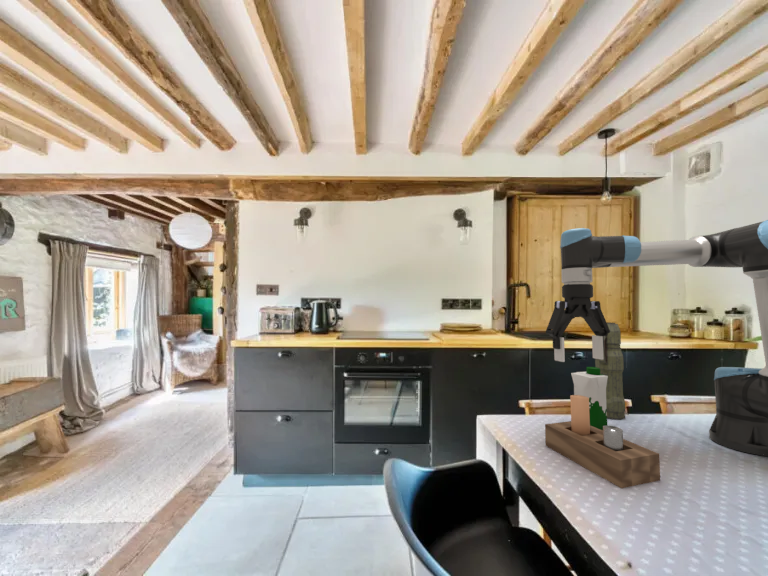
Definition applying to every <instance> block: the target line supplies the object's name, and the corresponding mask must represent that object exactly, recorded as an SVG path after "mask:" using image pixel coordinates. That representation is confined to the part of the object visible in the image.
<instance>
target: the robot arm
mask: <svg viewBox="0 0 768 576" xmlns="http://www.w3.org/2000/svg"><path fill="white" fill-rule="evenodd" d="M560 235H561V236H560V246H559V248H560V260H561V261H560V262H561V271H560V272H561V283H562V286H561V297H562V298H563V299H564V300H555V301H554V307H553V311H552V314H551V316H550V319H549V321H548V325H547V327H546V330H545V334H546V335H549V337H552V348H553V351H554V353H553V355H554V356H553V357H554V358H553V359H554V361H555V362H560V363H565V361H566V360H565V358H566V357H565V355H566V353H565V337H562V336H563V335H564V333H565V331H566V330H567V328H568V327H569V325H570V323H571V322H572V320H573V319H575V318H582V319H583V320H584V321H585V323H586V325H587V326H588V327H589V329H590V330H591V331H592V333H593V335H591V342H592V343H591V347H592V359H594V360H595V359H601V360H603V359H604V358H603V347H604V336H607V335H608V333H610V330H609V327H608V325H607V323H606V322H607V321H606V320H607V319H606V318H605V315H604V313H603V311H602V308H601V306H602V305H601V302H600V301H599V300H594V301H593V300H591V299H592V298H593V297H594V285H593V284H591V283H593V269H596V268H597V269H598V268H600V269H602V268H615V267H616V268H619V267H646V266H669V265H670V266H671V265H688V266H691V267H694V268H700V267H701V268H703V267H704V268H705V267H706V268H710V267H711V268H742V273H743V274H744V275H745V276H747V277H750V278H751V279H752V283H753V289H754V297H755V303H756V310H757V317H758V322H759V328H760V329H759V330H760V335H761V336H760V337H761V341H762V349H763V355H764V362H765V366H764V367H763V368H758V367H735V366H720V367H717V368H716V369H715V371H714V378H713V381H714V383H713V385H714V395H715V397H714V398H715V409H716V410H715V411H716V415H715V416H714V419H713V421H712V423H711V425H710V428H709V431H708V432H709V433H708V435H709V439H710V440H711V441H713V442H714V443H717V444H718V445H721V446H723V447H726V448H729V449H733V450H736V451H738V452H743V453H747V454H752V455H757V456H762V457H768V219H766V220H763V221H759V222H756V223H752V224H748V225H744V226H739V227H735V228H731V229H727V230H724V231H720V232H715V233H712V234H705V235H695V236H692V237H690V238H689V239H679V240H678V239H676V240H675V239H674V240H657V241H641V240H640V239H639V238H638V237H637V236H635V235H624V234H623V235H610V236H609V235H608V236H607V235H606V236H605V235H603V236H593V234H592V230H591V229H590V228H585V227H580V228H578V227H577V228H571V229H567V230H565V231H562V233H561V234H560ZM603 328H604V329H603Z"/></svg>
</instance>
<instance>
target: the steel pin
mask: <svg viewBox="0 0 768 576" xmlns="http://www.w3.org/2000/svg"><path fill="white" fill-rule="evenodd" d="M623 431H624V430H623V429H622V428H621V427H617V426H615V425H605V426H603V446H605V447H607V448H609V449H611V450H614V451H621V450H623V439H624V433H623Z"/></svg>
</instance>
